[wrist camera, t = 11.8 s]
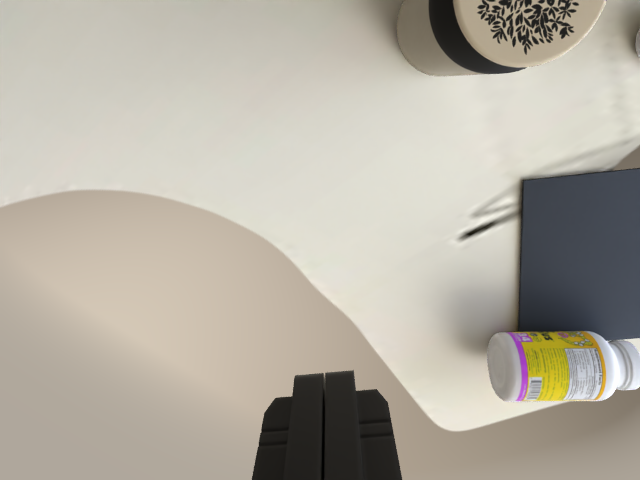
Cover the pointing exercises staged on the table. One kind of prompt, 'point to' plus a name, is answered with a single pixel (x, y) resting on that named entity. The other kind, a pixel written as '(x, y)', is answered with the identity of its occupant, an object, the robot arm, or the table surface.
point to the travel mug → (491, 33)
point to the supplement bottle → (560, 366)
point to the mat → (581, 254)
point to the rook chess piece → (638, 43)
